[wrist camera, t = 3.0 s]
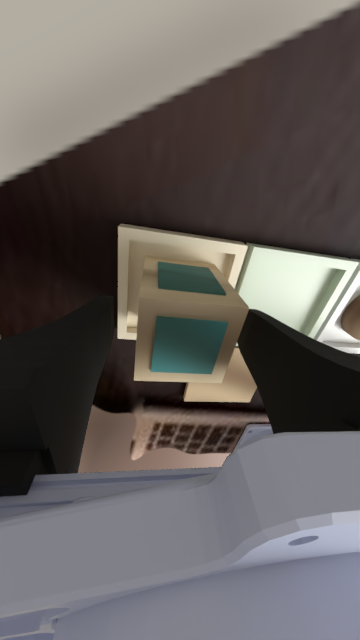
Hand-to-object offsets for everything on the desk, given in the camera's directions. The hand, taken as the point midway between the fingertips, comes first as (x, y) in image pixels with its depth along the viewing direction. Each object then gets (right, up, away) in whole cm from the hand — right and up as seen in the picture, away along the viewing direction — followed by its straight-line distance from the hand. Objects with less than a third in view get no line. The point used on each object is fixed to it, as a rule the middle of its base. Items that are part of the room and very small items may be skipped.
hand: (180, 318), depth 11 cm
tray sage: (+7, +1, +5) cm, 9 cm away
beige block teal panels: (0, +2, +3) cm, 4 cm away
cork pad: (+4, -5, +9) cm, 11 cm away
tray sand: (0, +2, +4) cm, 4 cm away
